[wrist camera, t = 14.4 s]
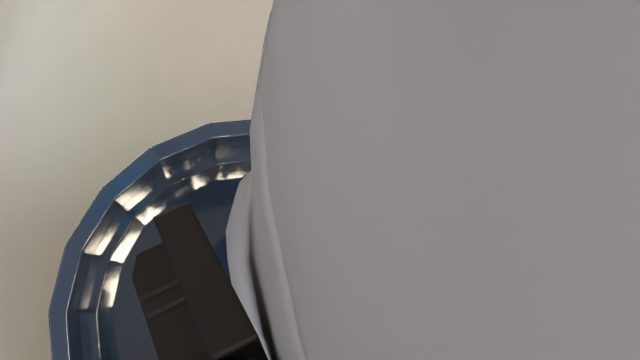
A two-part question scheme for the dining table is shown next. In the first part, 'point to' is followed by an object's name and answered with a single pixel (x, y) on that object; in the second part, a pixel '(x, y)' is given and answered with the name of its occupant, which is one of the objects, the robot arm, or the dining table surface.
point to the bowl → (141, 239)
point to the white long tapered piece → (443, 181)
